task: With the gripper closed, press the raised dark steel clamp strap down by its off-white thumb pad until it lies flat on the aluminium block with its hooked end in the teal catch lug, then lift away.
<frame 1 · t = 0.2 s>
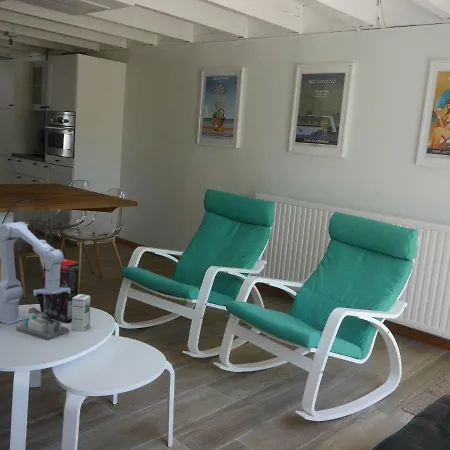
hand: (51, 310, 219), 10 cm above the table, tool pointing down, fingers open, 7 cm apart
clamp board: (42, 331, 222), on the table
clamp strap: (43, 317, 220), point 6 cm above the table, hinge at 15.0°
graphics card box: (59, 318, 240), on the table
syrup box: (80, 328, 229), on the table
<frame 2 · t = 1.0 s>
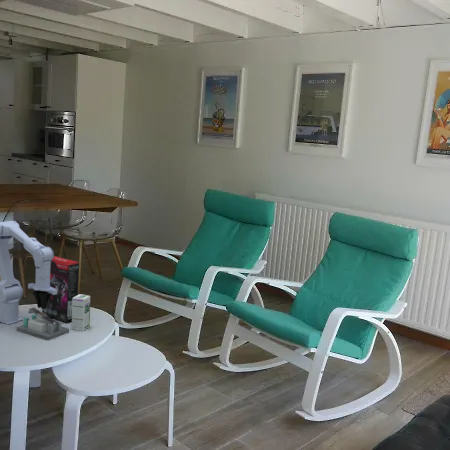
hand: (42, 307, 220), 10 cm above the table, tool pointing down, fingers closed
nothing on the table moved.
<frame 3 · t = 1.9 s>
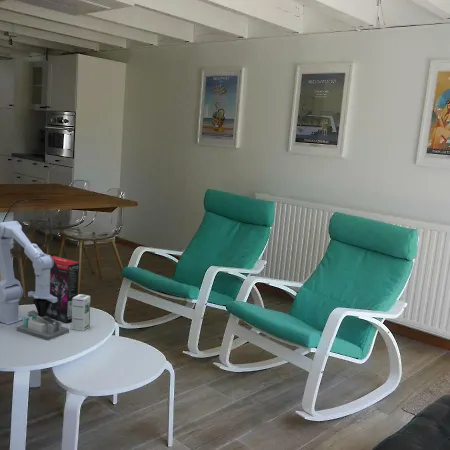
hand: (42, 315, 221), 7 cm above the table, tool pointing down, fingers closed, pressing on clamp strap
clamp strap: (43, 319, 221), point 6 cm above the table, hinge at 9.0°, touching gripper
everything else where it was.
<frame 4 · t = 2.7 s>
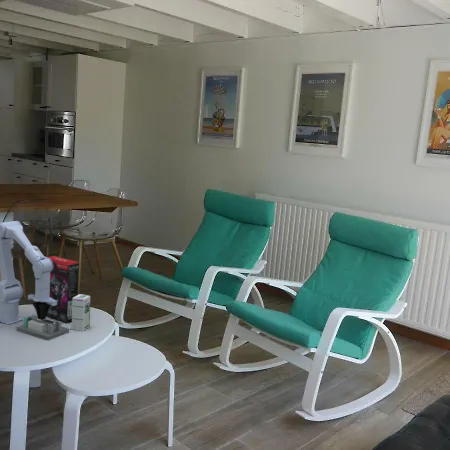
hand: (41, 318, 221), 6 cm above the table, tool pointing down, fingers closed on clamp strap
clamp strap: (42, 321, 221), point 5 cm above the table, hinge at -0.6°, touching clamp board, gripper
everything else where it was.
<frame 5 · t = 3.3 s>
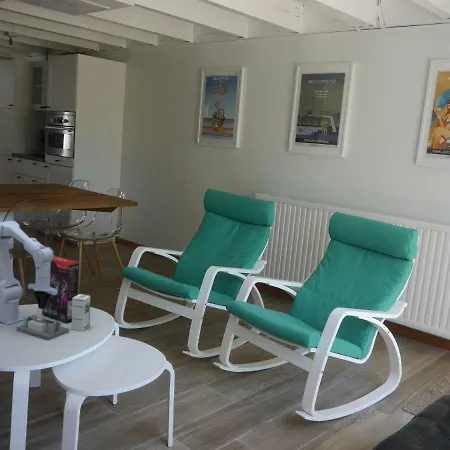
hand: (42, 308, 220), 10 cm above the table, tool pointing down, fingers closed
clamp strap: (42, 321, 221), point 5 cm above the table, hinge at -0.6°, touching clamp board
everything else where it was.
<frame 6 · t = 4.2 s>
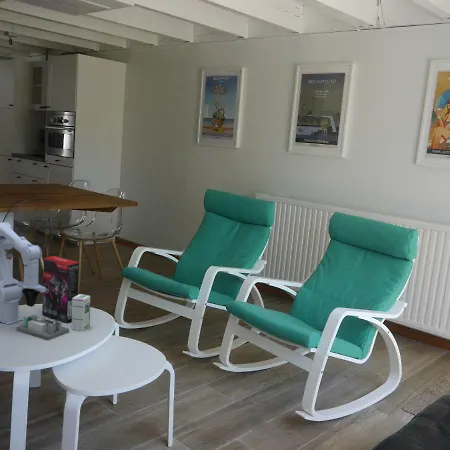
hand: (30, 305, 222), 10 cm above the table, tool pointing down, fingers closed
nothing on the table moved.
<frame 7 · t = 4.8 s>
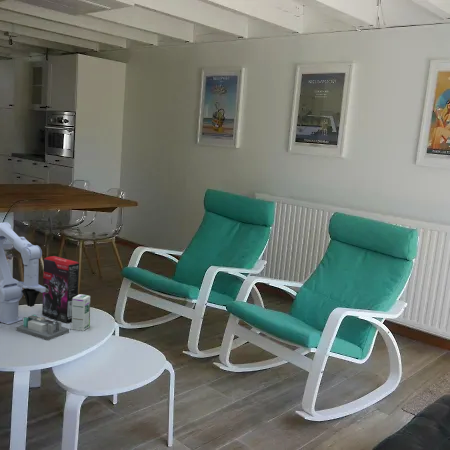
hand: (30, 305, 222), 10 cm above the table, tool pointing down, fingers closed
nothing on the table moved.
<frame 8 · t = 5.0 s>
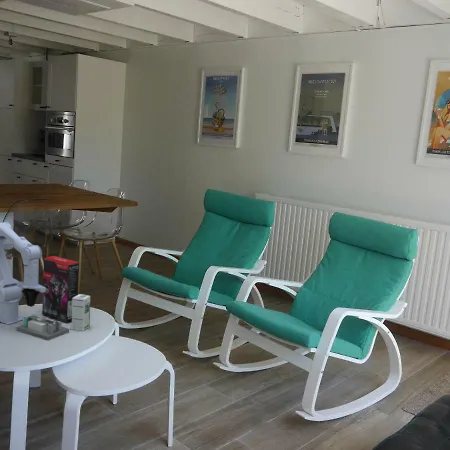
hand: (30, 305, 222), 10 cm above the table, tool pointing down, fingers closed
nothing on the table moved.
at the end: clamp strap at -1° (first picture: +15°); graphics card box moved 0.2 cm from its start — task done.
